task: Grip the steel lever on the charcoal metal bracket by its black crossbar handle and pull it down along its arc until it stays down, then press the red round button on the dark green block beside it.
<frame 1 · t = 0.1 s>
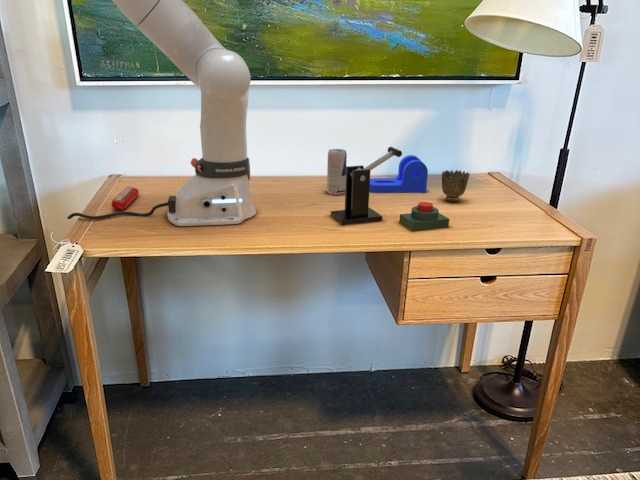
hand: (343, 6, 139), 48 cm above the table, tool pointing down, fingers open, 8 cm apart
button: (425, 207, 143), point 4 cm above the table, slide at 0.1 cm
button block: (423, 225, 145), on the table
bracket: (356, 218, 149), on the table
bracket 2: (393, 189, 175), on the table
energy drink: (336, 193, 170), on the table
lever: (375, 164, 144), point 13 cm above the table, hinge at 28.0°
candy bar: (126, 204, 159), on the table
cup: (452, 201, 164), on the table
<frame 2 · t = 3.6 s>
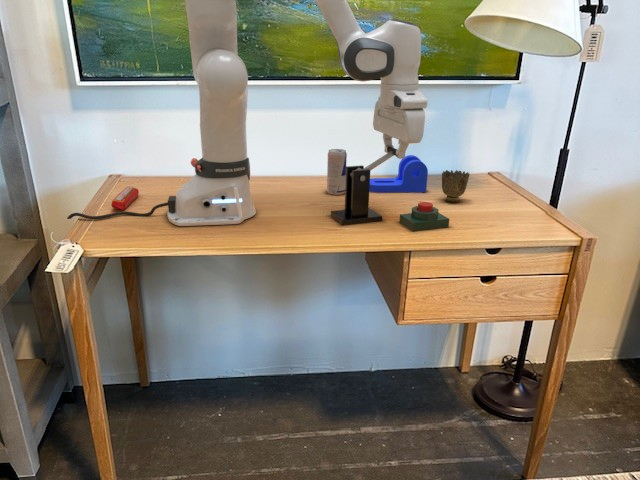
hand: (394, 155, 145), 15 cm above the table, tool pointing down, fingers closed on lever, 5 cm apart
lever: (375, 164, 144), point 13 cm above the table, hinge at 28.0°, touching gripper
everything else where it was.
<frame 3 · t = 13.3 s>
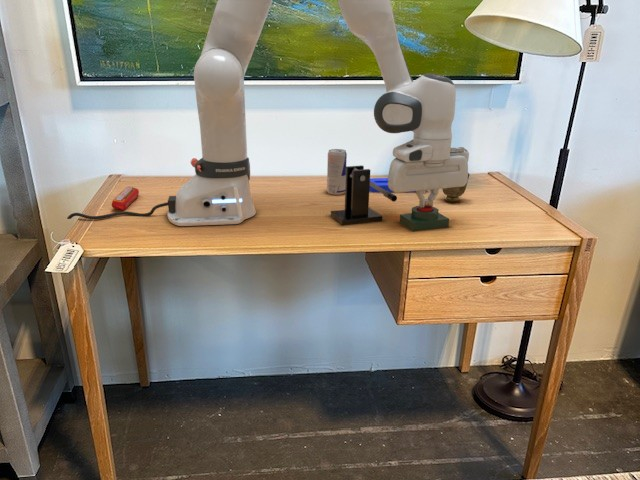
hand: (425, 206, 143), 5 cm above the table, tool pointing down, fingers closed, pressing on button
button: (425, 210, 144), point 4 cm above the table, slide at -0.7 cm, touching gripper
lever: (373, 185, 147), point 8 cm above the table, hinge at -32.6°
everything else where it was.
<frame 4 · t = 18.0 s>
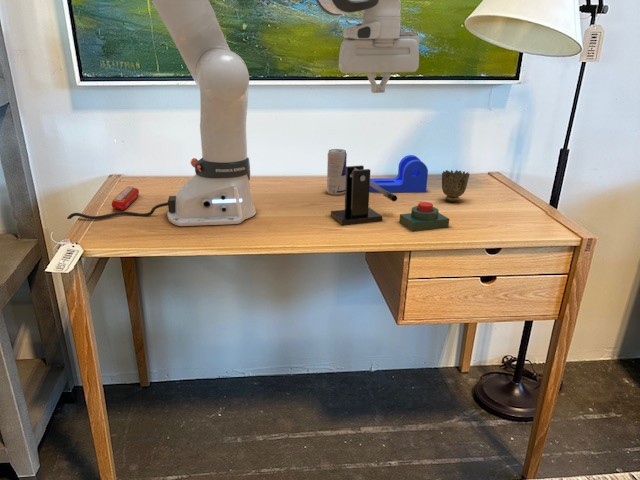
hand: (377, 92, 145), 29 cm above the table, tool pointing down, fingers closed
button: (425, 207, 143), point 4 cm above the table, slide at 0.1 cm
everything else where it was.
at the end: lever at -33° (first picture: +28°); button pushed in 1.0 cm at the most during the clip, back to where it started at the end; button slide at 0.1 cm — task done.
